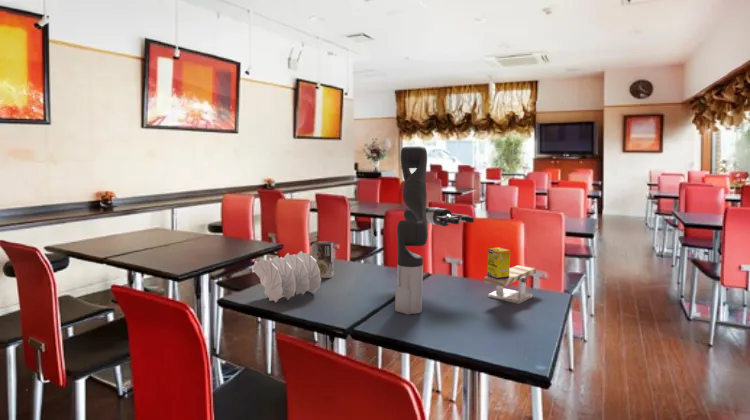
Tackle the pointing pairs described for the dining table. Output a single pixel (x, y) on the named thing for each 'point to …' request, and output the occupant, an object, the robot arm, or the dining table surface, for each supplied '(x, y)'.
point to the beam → (511, 275)
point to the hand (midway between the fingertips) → (465, 220)
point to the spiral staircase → (288, 275)
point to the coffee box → (324, 257)
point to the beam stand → (512, 293)
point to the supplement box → (498, 263)
